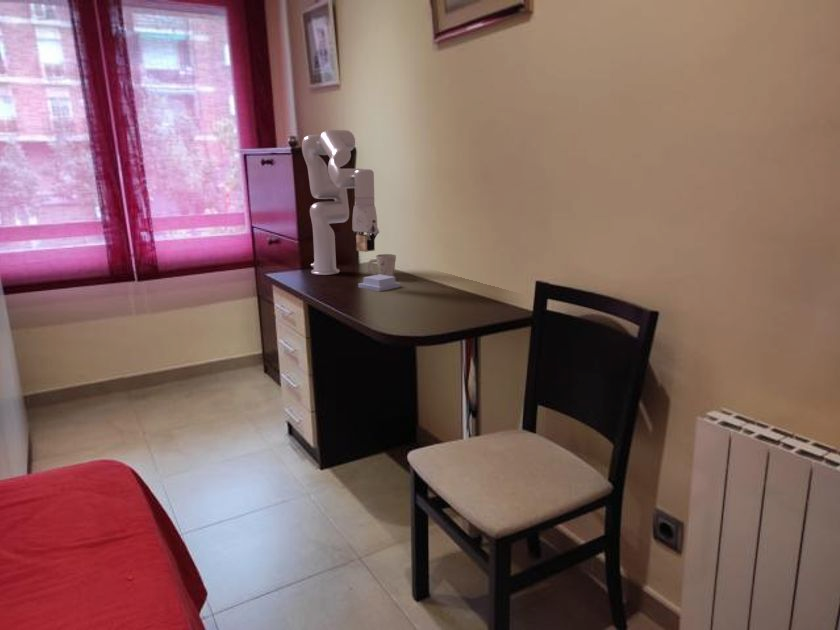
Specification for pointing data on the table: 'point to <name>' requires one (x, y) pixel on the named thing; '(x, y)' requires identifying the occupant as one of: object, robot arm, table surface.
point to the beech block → (363, 243)
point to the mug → (384, 264)
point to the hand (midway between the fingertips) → (365, 248)
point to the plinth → (379, 282)
